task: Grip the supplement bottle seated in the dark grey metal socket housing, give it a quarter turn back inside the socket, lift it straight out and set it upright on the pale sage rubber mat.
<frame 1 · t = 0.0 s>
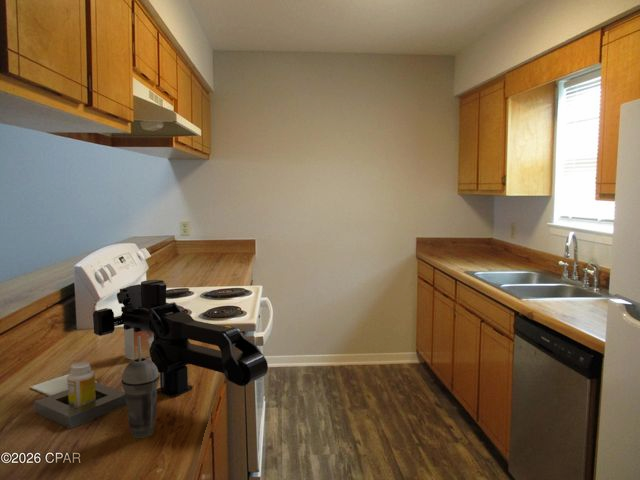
hand: (109, 311, 132), 17 cm above the counter, tool horizontal, fingers open, 9 cm apart
supplement bottle: (82, 408, 111), resting in socket housing
beverage cup: (142, 433, 100), on the counter
socket housing: (82, 407, 111), on the counter
small box: (141, 356, 146), on the counter
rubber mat: (64, 385, 123), on the counter
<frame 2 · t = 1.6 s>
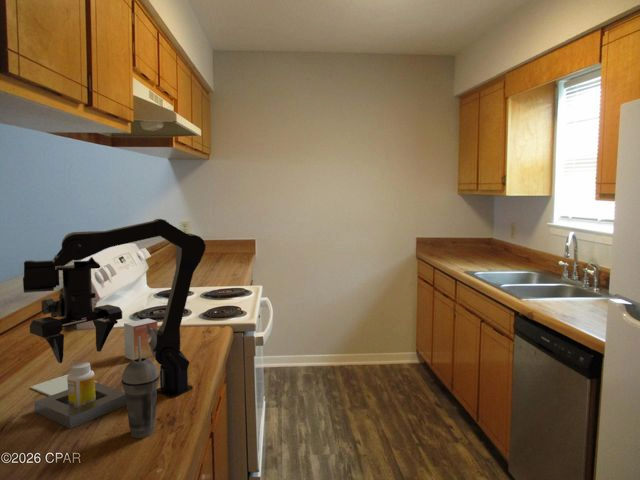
hand: (80, 356, 110), 12 cm above the counter, tool pointing down, fingers open, 9 cm apart
nothing on the counter moved.
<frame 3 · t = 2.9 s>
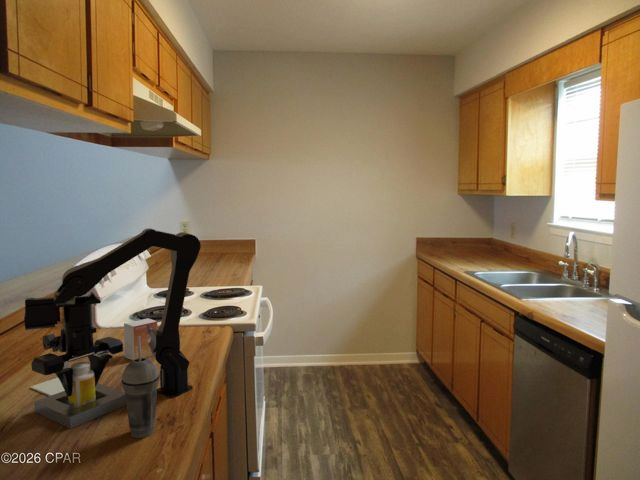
hand: (81, 391, 110), 4 cm above the counter, tool pointing down, fingers closed on supplement bottle, 6 cm apart
supplement bottle: (82, 408, 111), resting in socket housing, touching gripper
everything else where it was.
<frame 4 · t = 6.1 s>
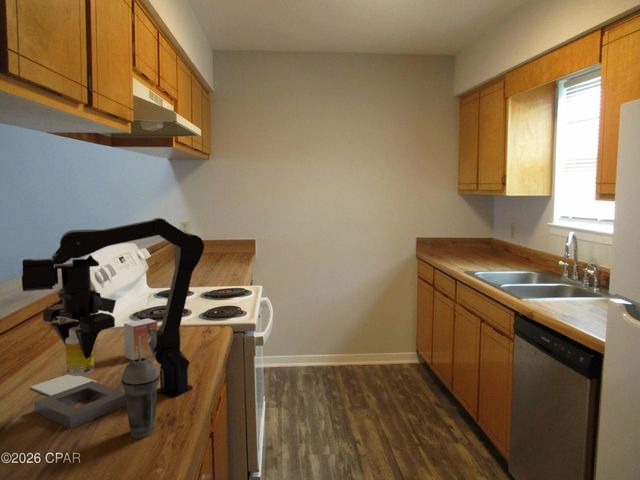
hand: (80, 355, 109), 12 cm above the counter, tool pointing down, fingers closed on supplement bottle, 5 cm apart
supplement bottle: (80, 373, 110), point 8 cm above the counter, touching gripper
everything else where it was.
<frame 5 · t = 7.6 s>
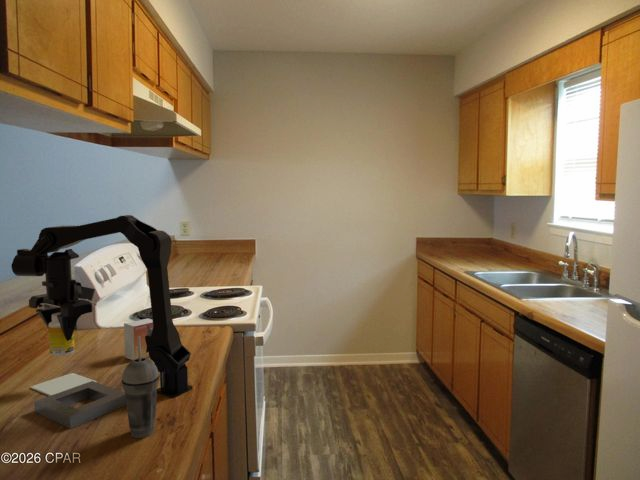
hand: (62, 337, 122), 12 cm above the counter, tool pointing down, fingers closed on supplement bottle, 6 cm apart
supplement bottle: (62, 354, 122), point 8 cm above the counter, touching gripper
everything else where it was.
when the fingers open (6 cm above the counter, at t = 9.1 s): supplement bottle drops 1 cm, resting on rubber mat.
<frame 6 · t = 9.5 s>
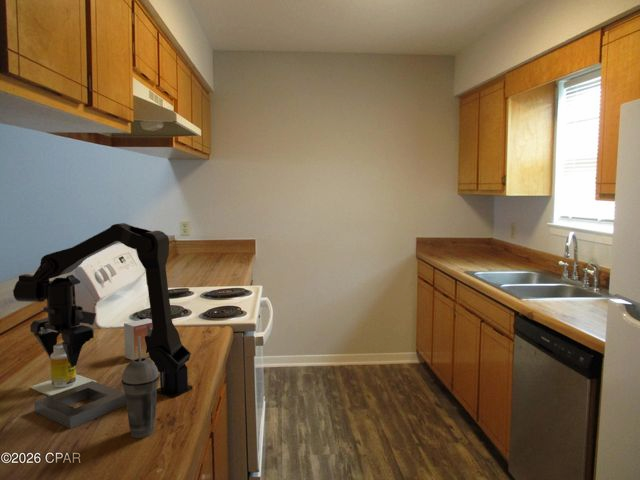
hand: (63, 362, 123), 6 cm above the counter, tool pointing down, fingers open, 9 cm apart
supplement bottle: (64, 384, 123), resting on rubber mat
everything else where it was.
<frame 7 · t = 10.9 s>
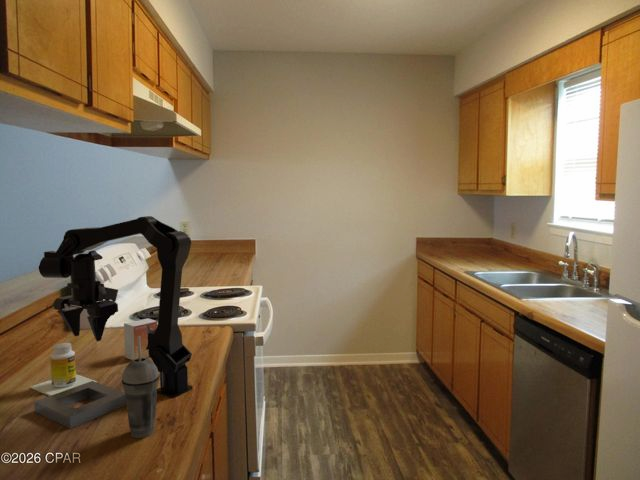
hand: (87, 338, 124), 12 cm above the counter, tool pointing down, fingers open, 9 cm apart
nothing on the counter moved.
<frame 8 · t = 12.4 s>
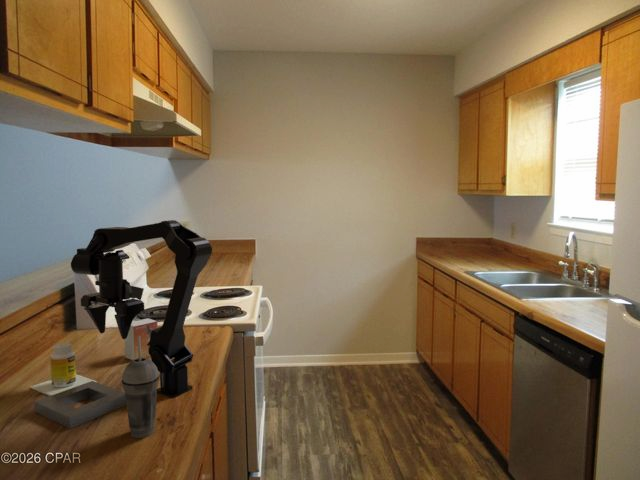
hand: (113, 335, 126), 12 cm above the counter, tool pointing down, fingers open, 9 cm apart
nothing on the counter moved.
at the end: supplement bottle inside the target area on the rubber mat (0.1 cm from its centre), point 0.2 cm above the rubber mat's base; supplement bottle tilted 0°; the gripper is holding nothing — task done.
